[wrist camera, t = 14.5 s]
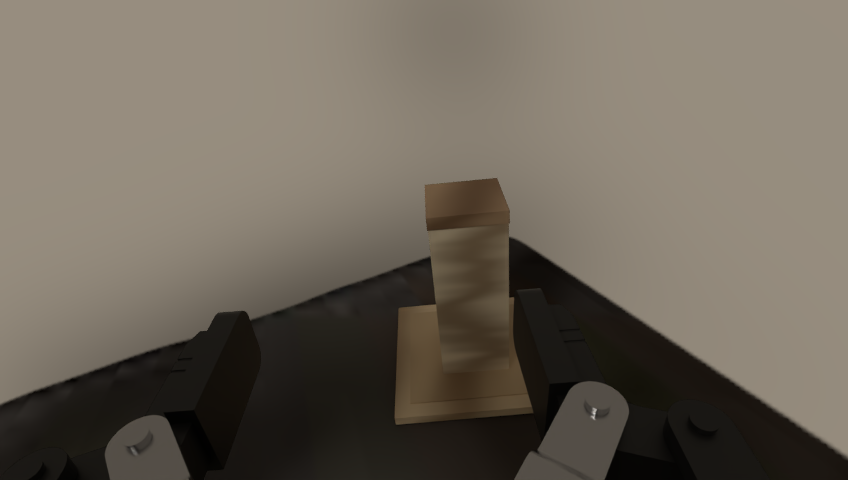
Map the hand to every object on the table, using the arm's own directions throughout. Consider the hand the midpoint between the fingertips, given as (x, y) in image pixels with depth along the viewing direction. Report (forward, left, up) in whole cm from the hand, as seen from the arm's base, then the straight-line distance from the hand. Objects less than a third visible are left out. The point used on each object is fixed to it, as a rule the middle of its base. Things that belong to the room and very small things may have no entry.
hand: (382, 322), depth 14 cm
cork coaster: (+4, +14, -16) cm, 21 cm away
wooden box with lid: (+4, +14, -15) cm, 21 cm away
